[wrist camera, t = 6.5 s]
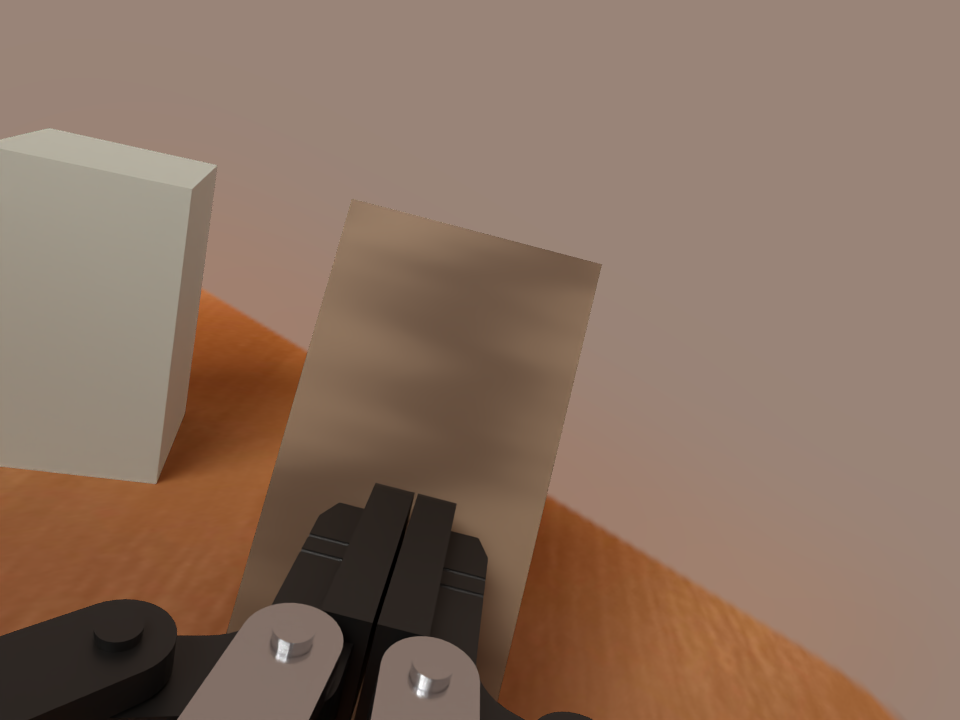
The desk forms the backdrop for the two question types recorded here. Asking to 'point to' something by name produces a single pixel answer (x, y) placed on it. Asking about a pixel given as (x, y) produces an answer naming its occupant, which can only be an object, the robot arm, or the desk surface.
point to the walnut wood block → (431, 399)
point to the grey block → (97, 302)
